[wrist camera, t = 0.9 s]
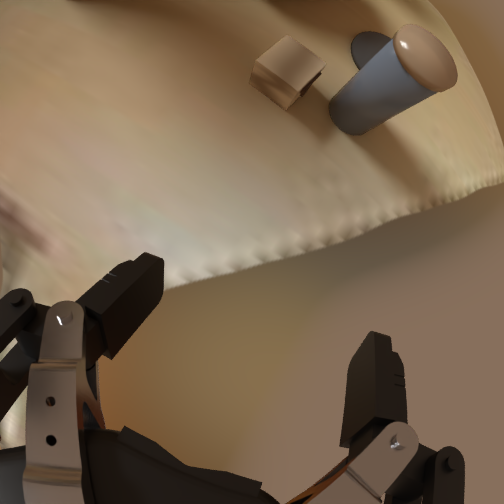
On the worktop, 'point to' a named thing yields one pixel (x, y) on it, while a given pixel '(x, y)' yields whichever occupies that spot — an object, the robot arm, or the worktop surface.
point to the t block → (286, 71)
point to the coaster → (367, 47)
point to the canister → (394, 81)
